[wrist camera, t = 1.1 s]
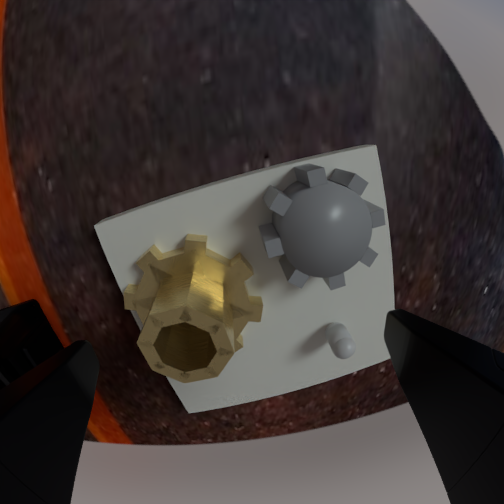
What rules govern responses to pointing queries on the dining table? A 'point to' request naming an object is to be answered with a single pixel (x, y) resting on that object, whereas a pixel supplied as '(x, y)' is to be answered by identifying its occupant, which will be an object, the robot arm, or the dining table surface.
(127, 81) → the dining table surface
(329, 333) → the carrier
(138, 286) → the gear
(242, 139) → the dining table surface
